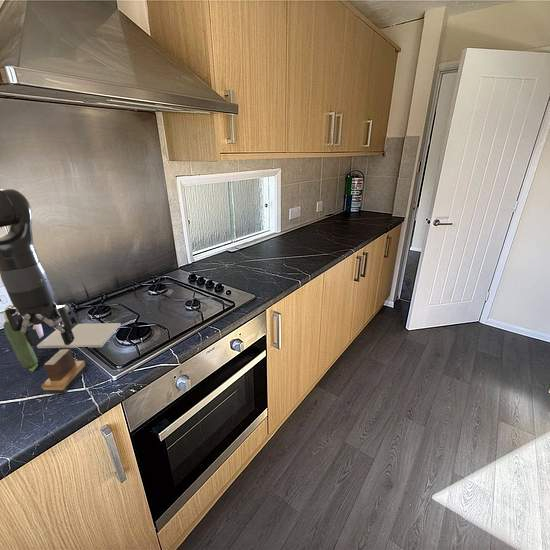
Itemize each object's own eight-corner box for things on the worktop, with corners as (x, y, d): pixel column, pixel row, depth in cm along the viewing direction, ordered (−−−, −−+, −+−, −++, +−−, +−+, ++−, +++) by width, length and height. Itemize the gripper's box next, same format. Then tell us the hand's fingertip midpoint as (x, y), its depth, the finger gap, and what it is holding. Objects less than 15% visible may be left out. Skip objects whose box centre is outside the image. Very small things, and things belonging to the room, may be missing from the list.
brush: (65, 394, 72) (54, 369, 69) (45, 394, 72) (33, 369, 69) (87, 369, 80) (78, 345, 77) (69, 369, 80) (60, 345, 77)
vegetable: (19, 373, 79) (-12, 309, 71) (33, 362, 83) (5, 301, 75) (33, 374, 79) (4, 310, 71) (47, 363, 83) (20, 301, 75)
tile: (37, 348, 90) (36, 345, 89) (64, 326, 101) (63, 323, 100) (101, 347, 89) (100, 344, 88) (121, 325, 100) (120, 323, 99)
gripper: (70, 275, 68) (90, 333, 75) (10, 277, 69) (36, 335, 75) (46, 290, 61) (71, 352, 68) (-20, 292, 62) (11, 354, 68)
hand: (52, 343), depth 71 cm, fingers open, 8 cm apart
